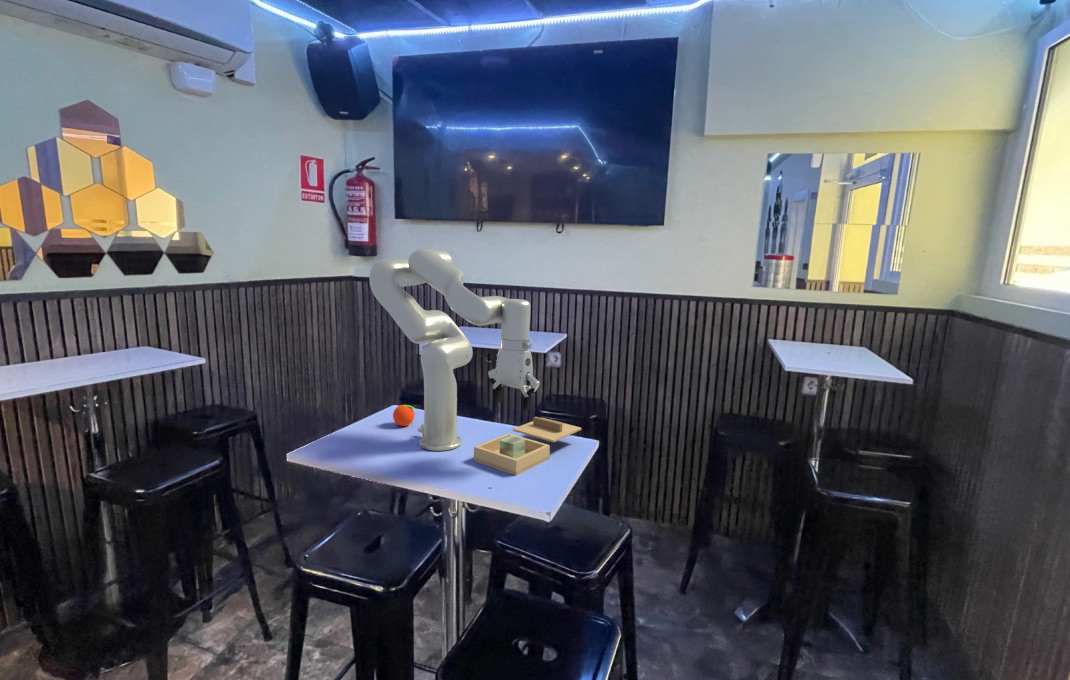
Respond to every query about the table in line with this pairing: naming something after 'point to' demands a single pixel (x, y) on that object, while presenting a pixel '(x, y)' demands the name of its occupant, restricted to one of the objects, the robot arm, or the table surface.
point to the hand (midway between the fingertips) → (511, 406)
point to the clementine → (403, 415)
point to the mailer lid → (547, 429)
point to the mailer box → (492, 457)
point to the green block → (512, 447)
